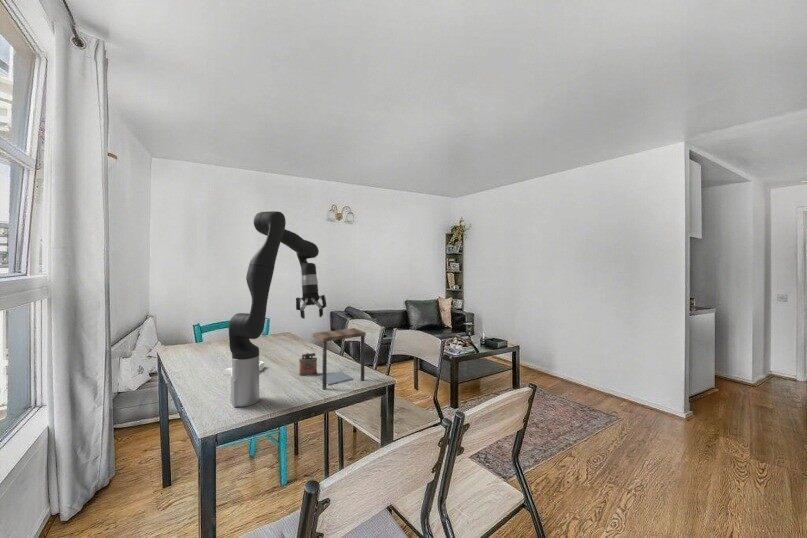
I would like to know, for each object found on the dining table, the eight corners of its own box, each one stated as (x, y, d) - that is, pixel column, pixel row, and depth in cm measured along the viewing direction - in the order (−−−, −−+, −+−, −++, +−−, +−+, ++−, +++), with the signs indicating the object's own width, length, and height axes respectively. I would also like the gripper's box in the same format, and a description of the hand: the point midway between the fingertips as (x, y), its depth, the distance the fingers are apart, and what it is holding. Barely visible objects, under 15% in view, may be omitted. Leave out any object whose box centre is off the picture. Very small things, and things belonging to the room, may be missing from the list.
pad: (328, 385, 144) (328, 384, 144) (317, 377, 153) (317, 376, 153) (353, 379, 151) (353, 378, 151) (341, 372, 160) (341, 371, 160)
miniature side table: (322, 390, 138) (323, 338, 137) (312, 382, 147) (312, 333, 146) (365, 380, 150) (365, 332, 149) (353, 373, 159) (353, 328, 158)
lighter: (298, 376, 154) (298, 354, 154) (299, 374, 157) (299, 352, 157) (317, 375, 156) (317, 353, 156) (316, 372, 160) (316, 351, 159)
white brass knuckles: (247, 366, 170) (271, 369, 166) (217, 377, 153) (243, 381, 148) (247, 359, 170) (271, 362, 166) (217, 370, 153) (243, 373, 148)
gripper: (292, 285, 161) (294, 319, 159) (322, 282, 161) (324, 316, 159) (298, 286, 169) (300, 318, 167) (326, 283, 168) (328, 315, 167)
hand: (312, 317), depth 163 cm, fingers open, 8 cm apart
